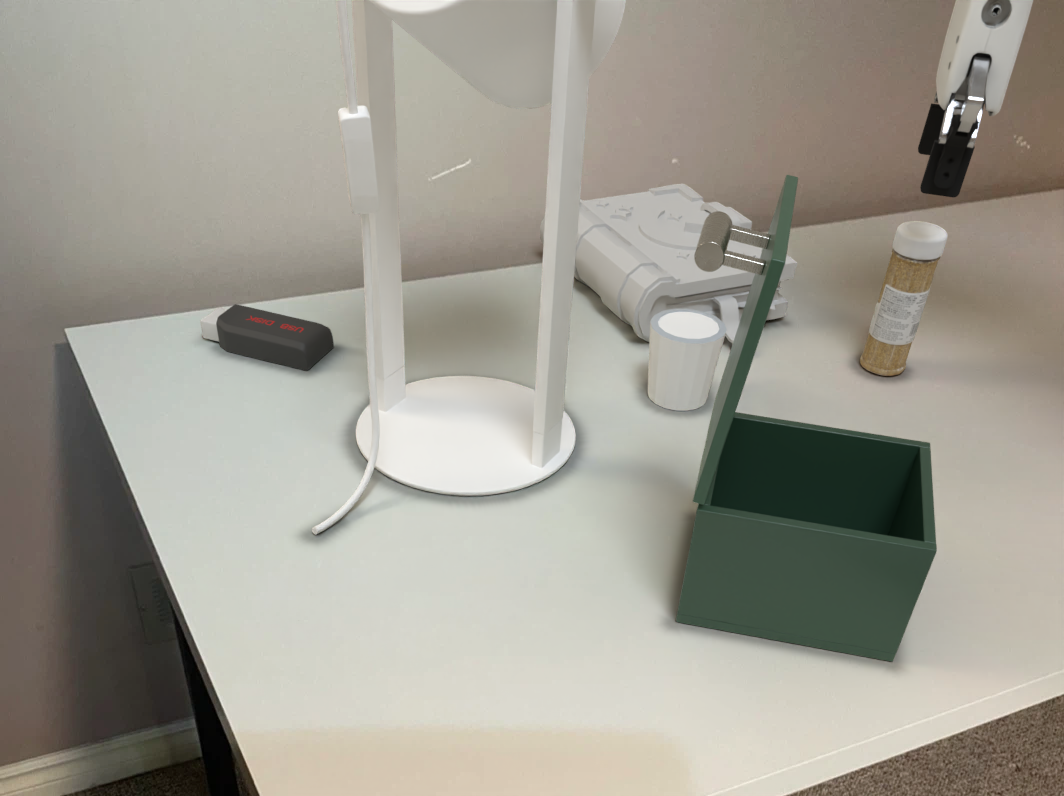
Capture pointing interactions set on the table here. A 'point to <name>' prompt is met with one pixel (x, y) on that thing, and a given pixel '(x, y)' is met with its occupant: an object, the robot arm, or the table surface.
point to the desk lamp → (372, 181)
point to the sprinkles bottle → (903, 296)
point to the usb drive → (268, 336)
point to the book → (662, 258)
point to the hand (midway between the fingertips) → (936, 173)
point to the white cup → (683, 357)
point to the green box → (812, 537)
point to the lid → (754, 315)
